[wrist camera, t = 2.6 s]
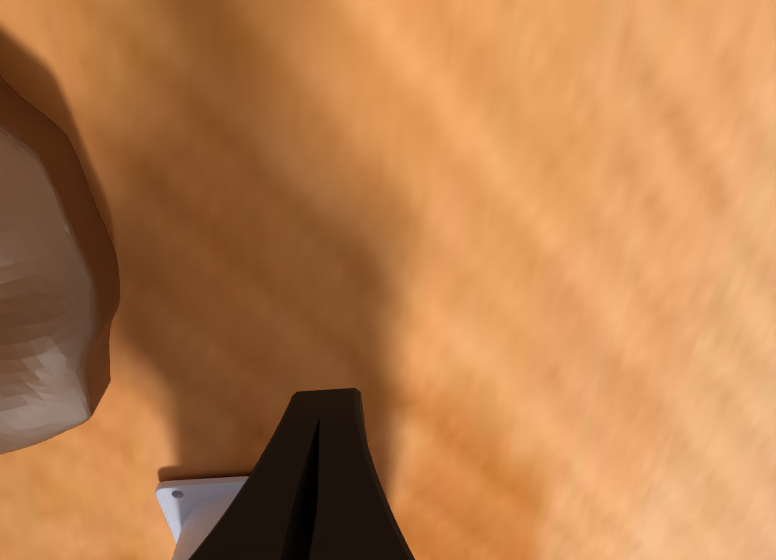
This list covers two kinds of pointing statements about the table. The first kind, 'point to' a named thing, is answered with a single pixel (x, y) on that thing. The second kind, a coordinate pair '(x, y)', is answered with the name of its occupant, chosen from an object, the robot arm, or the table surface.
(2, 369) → the plant
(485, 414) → the table surface
